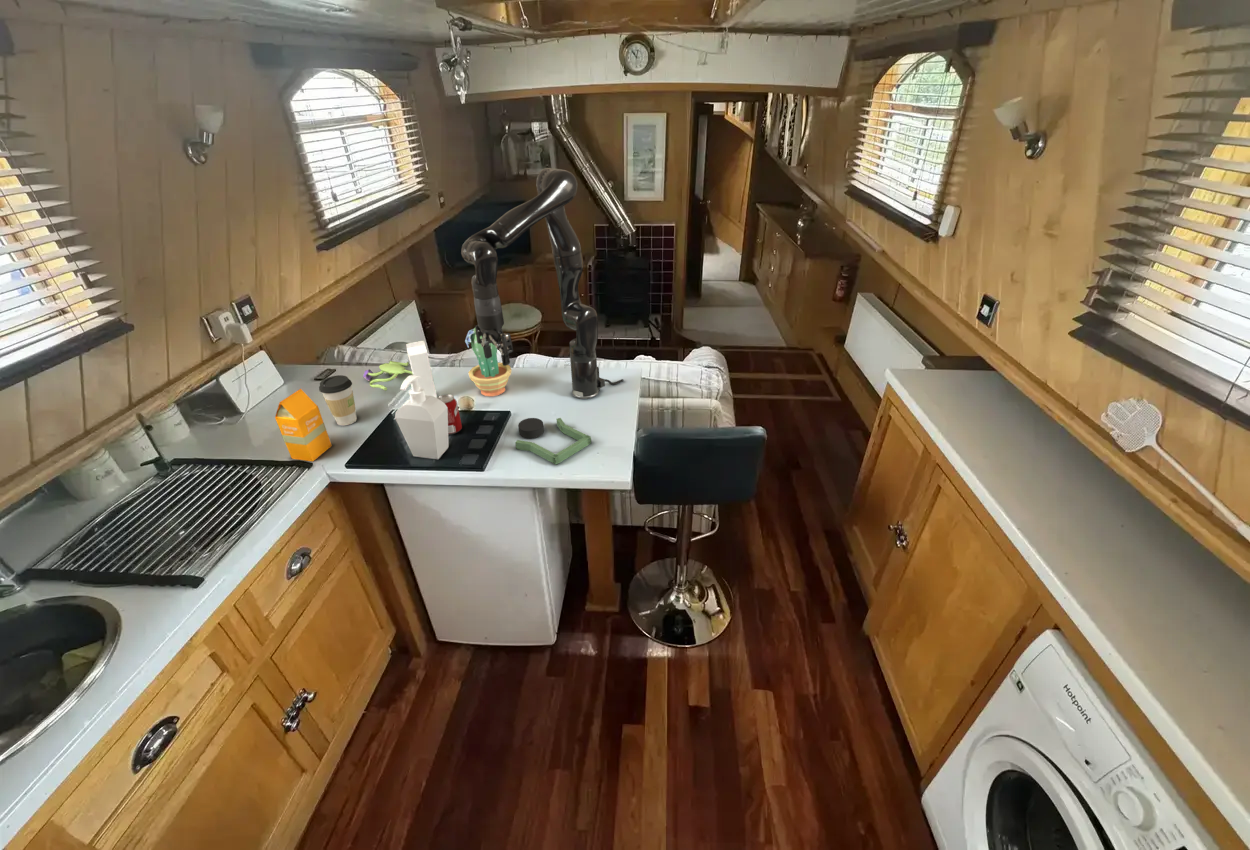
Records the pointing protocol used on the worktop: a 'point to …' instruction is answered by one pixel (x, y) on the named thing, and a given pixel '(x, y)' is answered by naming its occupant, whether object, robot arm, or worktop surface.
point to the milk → (421, 366)
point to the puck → (531, 428)
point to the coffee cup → (339, 398)
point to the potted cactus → (487, 369)
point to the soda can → (452, 413)
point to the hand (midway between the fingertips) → (497, 361)
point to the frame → (562, 455)
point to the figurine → (386, 368)
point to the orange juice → (302, 427)
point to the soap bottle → (423, 421)
